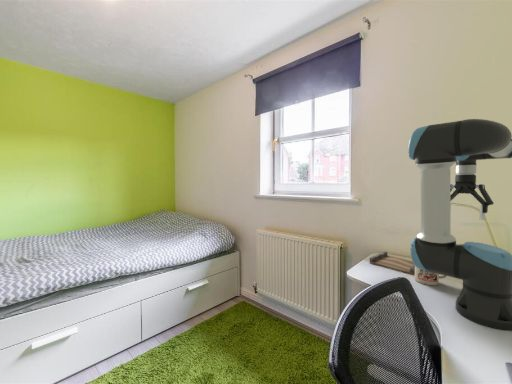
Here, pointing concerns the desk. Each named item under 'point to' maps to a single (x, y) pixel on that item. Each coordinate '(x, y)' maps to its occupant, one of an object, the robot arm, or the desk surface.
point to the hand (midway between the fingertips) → (464, 218)
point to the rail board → (393, 263)
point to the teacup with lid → (427, 277)
